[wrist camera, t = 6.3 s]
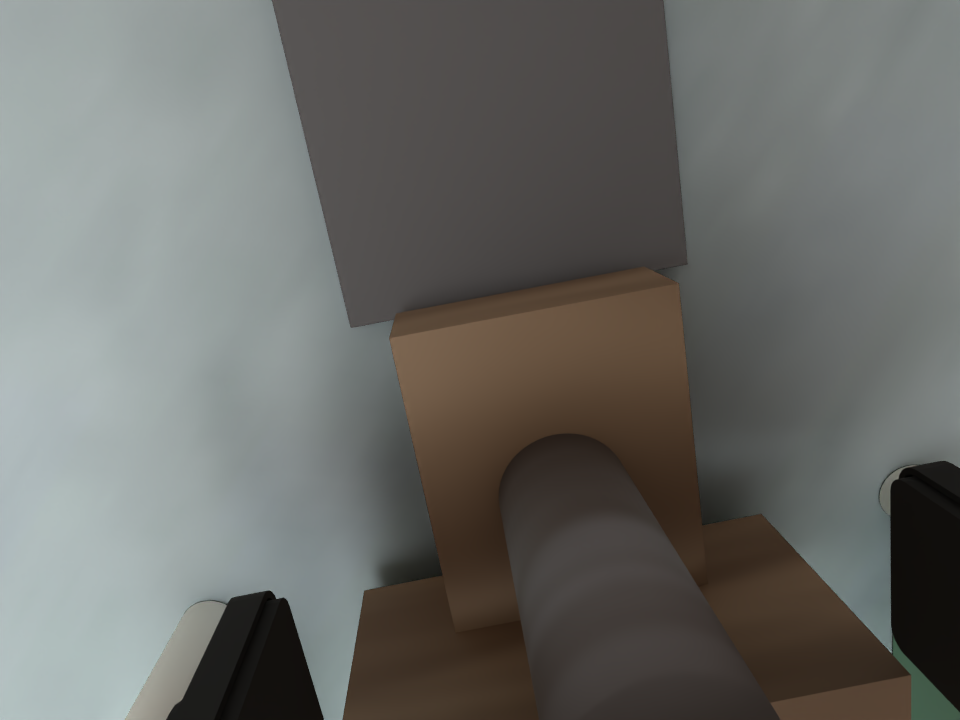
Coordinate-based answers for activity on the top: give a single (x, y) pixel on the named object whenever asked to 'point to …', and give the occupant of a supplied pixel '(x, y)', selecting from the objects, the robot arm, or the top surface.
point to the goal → (197, 626)
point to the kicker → (591, 536)
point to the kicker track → (485, 143)
